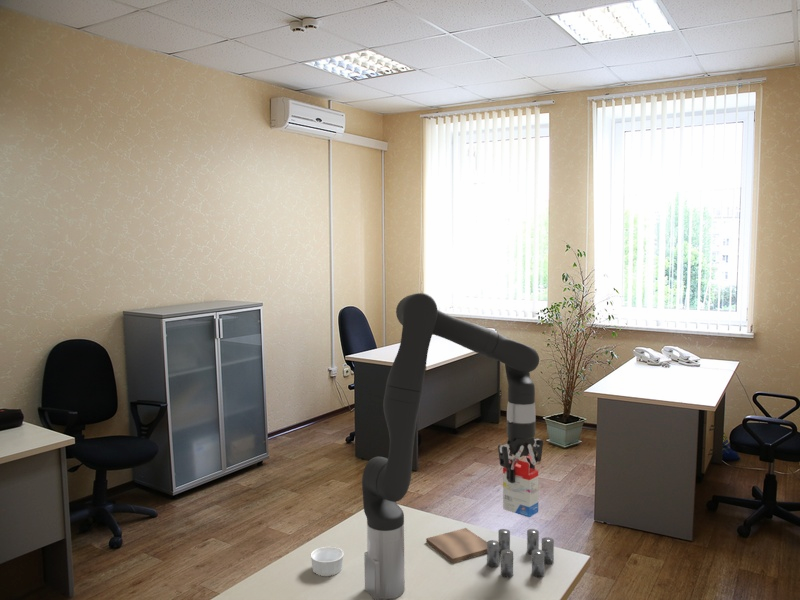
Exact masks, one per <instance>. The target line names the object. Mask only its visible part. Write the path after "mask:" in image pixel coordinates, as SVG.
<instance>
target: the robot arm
mask: <svg viewBox="0 0 800 600" xmlns="http://www.w3.org/2000/svg"><path fill="white" fill-rule="evenodd" d="M395 309H396V310H395V314H396V318H397V320H398V322H399V324H400V325H402V330H401V331H402V332H401V335H400V336H401V338H400V343H399V346H398V350H397V351H398V352H397V354H396V356H395V358H394V359H393V363H392V365H391V367H390V370H389V373H388V375H387V379H386V383H385V390H384V395H383V402H382V405H383V413H384V419H385V422H386V427H387V429H388V430H387V431H388V434H389V448H388V449H389V450H388V457H383V456H375V457H372V458H371V459H369V461H367V462H366V464H365V466H364V469H363V473H362V477H361V478H362V479H361V487H362V489H361V491H362V505H363V512H364V515H365V517H366V536H367V539H366V540H367V541H366V542H367V545H366V546H367V548H366V549H367V550H366V551H365V552H364V557H363V559H364V589H365V591H366V592H367V593H368V594H369V595H370V596H371V597H372V598H373V599H374V600H392V599H396V598H398V597H400V596H402V595H403V594H404V592H405V585H406V583H405V582H406V581H405V580H406V579H405V514H404V510H403V509H402V508H401V507H400V505H398V503H397V502H399V501H401V500H402V499H404V498H405V496H406V494H407V493H408V490H409V488H410V484H411V480H412V470H413V456H414V455H413V454H414V444H415V437H416V436H415V435H416V431H417V429H416V428H417V424H418V416H419V411H420V406H421V401H422V395H423V390H424V389H423V388H424V381H425V374H426V367H427V359H428V353H429V348H430V343H431V340H432V337H433V335H434V336H436V337H440V338H443V339H445V340H447V341H449V342H452V343H455V344H457V345H459V346H461V347H463V348H465V349H468V350H470V351H472V352H475V353H476V354H479V355H481V356H483V357H486V358H489V359H492V360H494V361H498V362H500V363H502V364H503V365H504V368H505V375H506V379H507V387H508V388H507V405H506V406H507V407H506V408H507V409H506V435H507V441H506V443H505V444H503V445H502V444H498V446H497V451H498V459H499V465H500V467H502V468H503V467H505V468H506V469H507V480H508V481H509V482H510V483H515V469H514V468H515V465H517V463H516V462H518V461H519V460H520V458H522V457H524V458H525V462H528V463H529V464H530V468H532V469H535V467H536V464H537V463H540V462H541V461H542V455H543V448H544V440H542V439H540V438H538V437H536V412H537V411H536V403H535V402H536V397H535V396H536V387H535V383H534V381H532V379H531V376H530V373H531V372H532V371H535V370H536V368H538V366H539V364H540V356H539V354H538V352H537V351H536V349H535V348H534V347H531V346H530V345H527V344H524V343H522V342H520V341H516V340H514V339H511V338H509V337H506V336H505V335H502V334H501V333H499V332H496V331H495V330H492V329H490V328H488V327H486V326H483V325H480V324H477V323H474V322H471V321H468V320H464V319H460V318H458V317H455V316H452V315H450V314H448V313H445V312H442V311H441V310H439V309H438V306H437V303H436V300H435V299H434V298H433V297H432V296H431V295H429V294H427V293H423V292H419V293H413V294H409V295H406V296H405V297H403V298H402V299H401V300H400V301H399V302H398V303H397V305H396V308H395ZM511 460H512V463H511Z"/></svg>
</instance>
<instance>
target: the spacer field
mask: <svg viewBox="0 0 800 600" xmlns="http://www.w3.org/2000/svg"><path fill="white" fill-rule="evenodd" d="M526 532H527V534H526V552H527V554H528V555H531V576H532V577H535V578H538V579H541V578H543V577H545V565H553V564H554V561H555V560H554V559H555V558H554V557H555V555H554V553H555V551H554V550H555V541H554V539H553V538H552V537H547V536H546V537H542V538H541V549H539V547H540V541H539V540H540V538H539V537H540V532H539V530H538V529H535V528H529V529H527V531H526ZM497 534H498V535H497V536H498V540H495V539H491V540H488V541H486V542H487V553H486V565H487V567H489V568H498V567H499V565H500V576H502V578H508V579H509V578H513V576H514V551H513V550H511V531H510V530H509V529H507V528H500V529H499V530H498V533H497ZM545 563H546V564H545ZM552 563H553V564H552Z"/></svg>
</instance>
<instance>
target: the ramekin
mask: <svg viewBox="0 0 800 600" xmlns="http://www.w3.org/2000/svg"><path fill="white" fill-rule="evenodd" d="M344 552H345V551H344V550H342V548H339V547H335V546H322V547H318V548H316V549H314V550H313V551H312V552H311V553H310V559H311V569H312V571H313V573H314V574H315V573H316V574H315V575H317V574H318V575H317V576H320V575H321V576H320V577H332V576H336V575H337V574H339V573H340V572H341V571H342V569H343V561H344V555H345V553H344ZM331 575H332V576H331Z"/></svg>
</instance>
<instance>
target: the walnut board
mask: <svg viewBox="0 0 800 600" xmlns="http://www.w3.org/2000/svg"><path fill="white" fill-rule="evenodd" d="M425 541H426V542H425V543H426V544H428V545H429V546H430V547H432V548H433V549H434V550H435V551H437V552H438V553H439V554H441V555H442V556H443V557H445V558H446V559H447V560H448V561H449V562H450V563H452V564H455V563H459V562H460V561H461V562H463V561H465V560H467V559H468V560H469V559H471V558H475V557H478V556H482V555H485V554H487V542H488V541H486V540H485V539H484V538H482V537H481V536H478V535H477V534H475V533H474V532H473V531H471V530H469V529H468V528H466V527H464V528H460V529H456V530H453V531H452V530H451V531H449V532H445V533H442V534H441V533H440V534H438V535H437V534H436V535H433V536H430V537H427V538H425Z"/></svg>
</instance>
